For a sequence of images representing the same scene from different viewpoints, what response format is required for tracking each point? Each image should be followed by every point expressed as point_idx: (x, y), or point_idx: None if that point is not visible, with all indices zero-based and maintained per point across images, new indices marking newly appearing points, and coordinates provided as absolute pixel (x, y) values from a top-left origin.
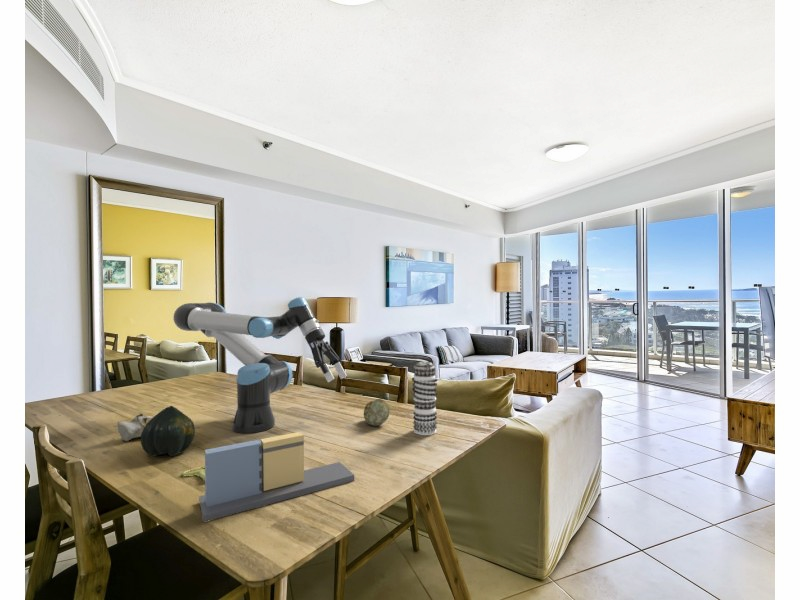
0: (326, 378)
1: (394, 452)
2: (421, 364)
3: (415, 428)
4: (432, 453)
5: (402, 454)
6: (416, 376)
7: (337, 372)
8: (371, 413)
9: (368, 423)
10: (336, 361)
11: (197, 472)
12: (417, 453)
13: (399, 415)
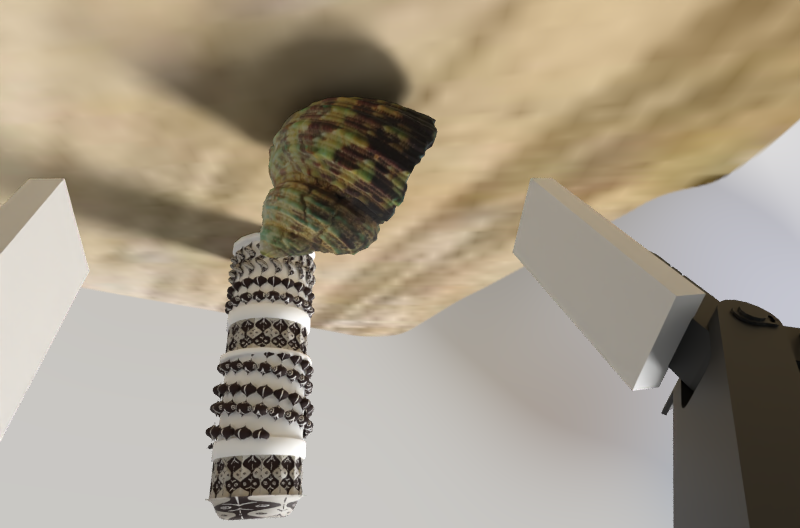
0: (5, 214)
1: None
2: (220, 517)
3: (245, 250)
4: None
5: None
6: (221, 457)
7: (584, 223)
8: (283, 172)
9: (307, 106)
10: (697, 377)
11: None
12: None
13: (473, 192)
